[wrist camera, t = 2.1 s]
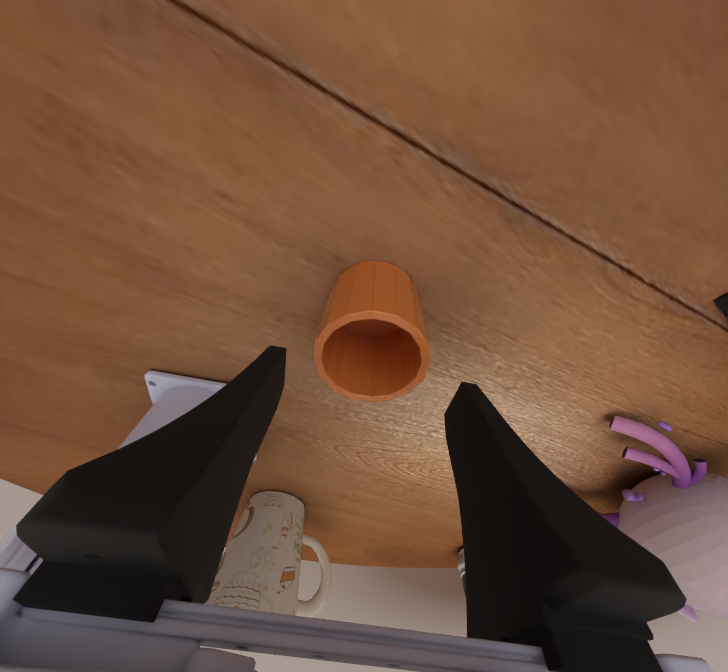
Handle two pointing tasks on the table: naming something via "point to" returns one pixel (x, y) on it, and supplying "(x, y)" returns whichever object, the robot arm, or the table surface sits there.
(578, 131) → the table surface
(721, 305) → the fabric swatch
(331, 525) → the table surface
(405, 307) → the cup
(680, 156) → the table surface
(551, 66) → the table surface
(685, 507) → the toy
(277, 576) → the mug
